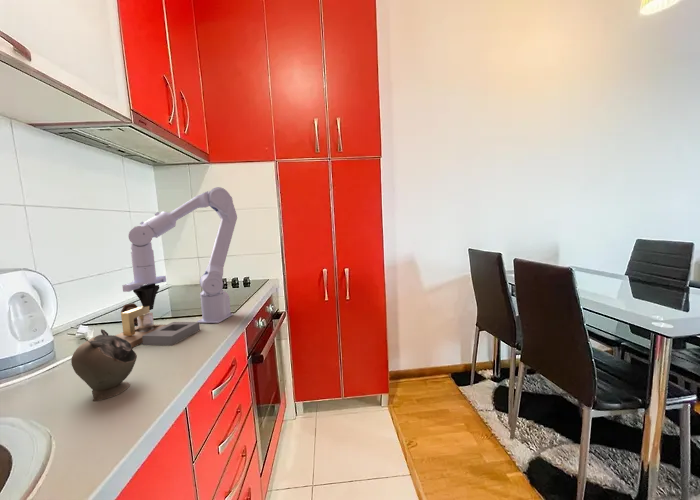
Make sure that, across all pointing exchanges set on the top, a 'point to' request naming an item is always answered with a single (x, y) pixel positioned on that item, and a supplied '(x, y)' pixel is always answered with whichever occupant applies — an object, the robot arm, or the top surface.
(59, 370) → the top surface
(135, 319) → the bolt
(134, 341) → the socket board
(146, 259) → the robot arm
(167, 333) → the frame
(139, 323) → the peg
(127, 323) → the bar
